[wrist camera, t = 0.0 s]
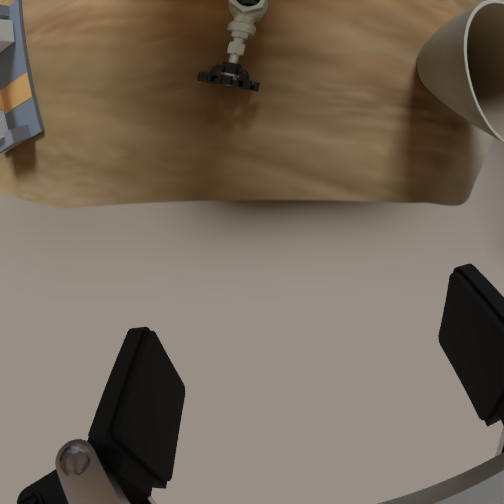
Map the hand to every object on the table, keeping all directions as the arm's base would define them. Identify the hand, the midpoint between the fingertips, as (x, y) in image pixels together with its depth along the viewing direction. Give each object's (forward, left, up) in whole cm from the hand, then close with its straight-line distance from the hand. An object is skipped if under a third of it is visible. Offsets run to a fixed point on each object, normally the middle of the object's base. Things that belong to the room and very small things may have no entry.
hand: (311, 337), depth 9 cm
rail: (-23, -33, -31) cm, 51 cm away
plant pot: (-8, +25, -31) cm, 41 cm away
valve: (-14, 0, -32) cm, 35 cm away
